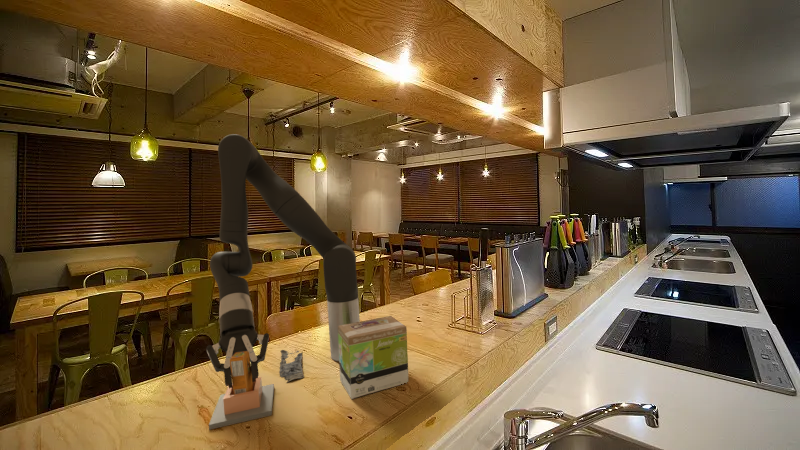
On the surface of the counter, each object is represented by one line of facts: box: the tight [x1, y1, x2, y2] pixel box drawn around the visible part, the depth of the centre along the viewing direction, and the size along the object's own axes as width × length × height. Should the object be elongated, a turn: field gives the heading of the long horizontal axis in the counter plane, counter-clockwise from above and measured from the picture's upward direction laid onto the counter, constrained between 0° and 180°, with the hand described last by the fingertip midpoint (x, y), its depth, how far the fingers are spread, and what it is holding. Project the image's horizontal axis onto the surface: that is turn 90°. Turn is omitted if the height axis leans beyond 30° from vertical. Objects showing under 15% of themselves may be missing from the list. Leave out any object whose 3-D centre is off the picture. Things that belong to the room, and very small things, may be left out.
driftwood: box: [279, 349, 305, 383], centre depth 95 cm, size 21×7×2 cm, turn 17°
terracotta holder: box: [223, 376, 263, 415], centre depth 75 cm, size 7×7×4 cm
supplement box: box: [230, 351, 253, 395], centre depth 75 cm, size 3×3×10 cm
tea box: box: [338, 315, 409, 400], centre depth 83 cm, size 15×10×15 cm
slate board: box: [208, 383, 275, 430], centre depth 75 cm, size 12×12×1 cm
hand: (242, 383), depth 74 cm, fingers closed on supplement box, 4 cm apart
